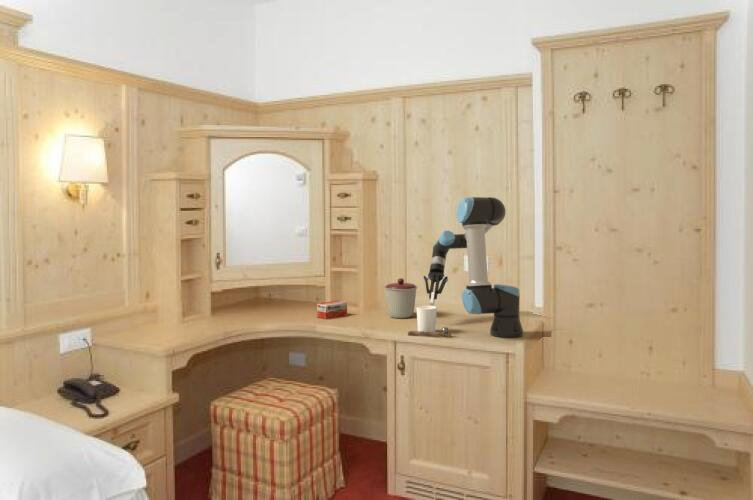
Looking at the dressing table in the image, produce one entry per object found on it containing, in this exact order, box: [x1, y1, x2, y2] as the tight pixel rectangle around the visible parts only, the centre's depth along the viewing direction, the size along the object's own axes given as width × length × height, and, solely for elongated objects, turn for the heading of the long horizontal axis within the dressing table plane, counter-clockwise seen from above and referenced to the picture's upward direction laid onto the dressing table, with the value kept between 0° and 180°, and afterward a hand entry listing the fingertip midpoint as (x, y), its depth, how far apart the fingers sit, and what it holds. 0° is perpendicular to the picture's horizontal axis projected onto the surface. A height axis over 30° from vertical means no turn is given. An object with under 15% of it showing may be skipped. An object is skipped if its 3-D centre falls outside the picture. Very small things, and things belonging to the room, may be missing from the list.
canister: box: [383, 278, 418, 319], centre depth 340 cm, size 18×18×21 cm
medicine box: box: [316, 300, 348, 320], centre depth 343 cm, size 15×8×8 cm, turn 134°
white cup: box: [415, 305, 438, 332], centre depth 301 cm, size 10×10×12 cm
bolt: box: [441, 326, 449, 334], centre depth 290 cm, size 3×3×2 cm
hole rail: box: [407, 330, 452, 339], centre depth 293 cm, size 20×4×2 cm, turn 74°
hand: (431, 304), depth 315 cm, fingers closed
